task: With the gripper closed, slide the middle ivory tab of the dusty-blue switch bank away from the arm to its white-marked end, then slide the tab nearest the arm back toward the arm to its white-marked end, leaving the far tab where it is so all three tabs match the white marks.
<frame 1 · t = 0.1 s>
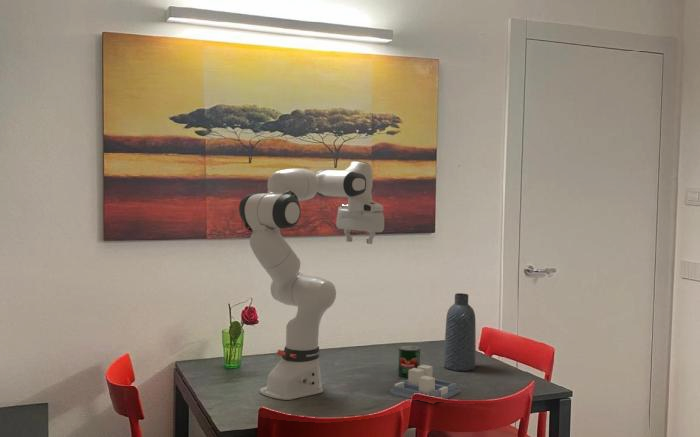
hand: (359, 242, 288), 48 cm above the table, tool pointing down, fingers open, 8 cm apart
middle tab: (416, 378, 267), point 4 cm above the table, slide at 0.0 cm
vase: (459, 367, 298), on the table
switch bank: (425, 393, 264), on the table
canned tomato: (408, 377, 284), on the table
near tab: (426, 386, 257), point 4 cm above the table, slide at 8.0 cm
far tab: (424, 375, 271), point 4 cm above the table, slide at 0.0 cm
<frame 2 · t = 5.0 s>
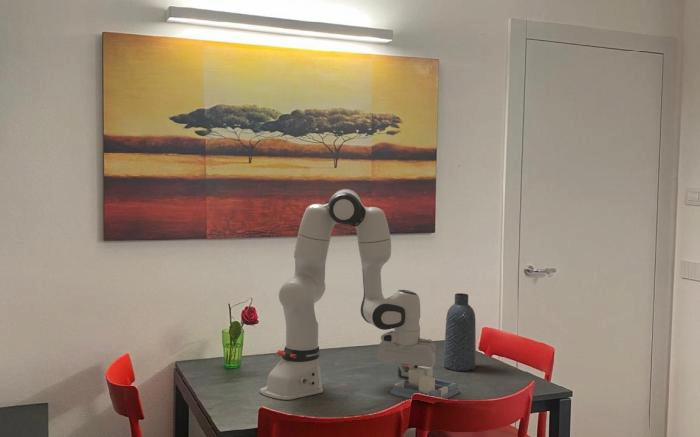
hand: (406, 376, 269), 4 cm above the table, tool pointing down, fingers closed
middle tab: (416, 378, 266), point 4 cm above the table, slide at 0.2 cm, touching gripper
everything else where it was.
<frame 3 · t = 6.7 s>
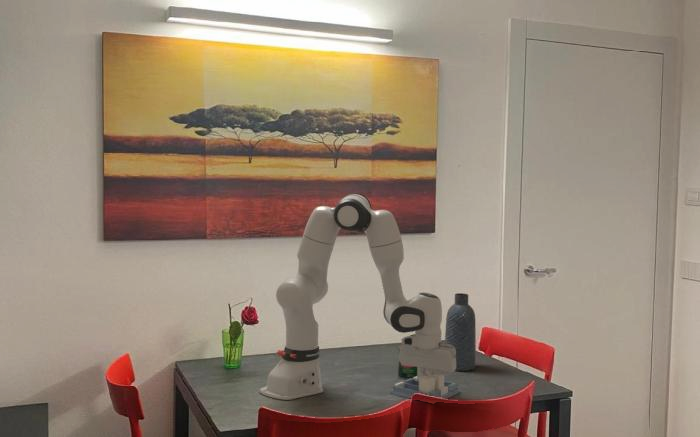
hand: (426, 381, 264), 4 cm above the table, tool pointing down, fingers closed
middle tab: (436, 383, 262), point 4 cm above the table, slide at 8.2 cm, touching gripper
everything else where it was.
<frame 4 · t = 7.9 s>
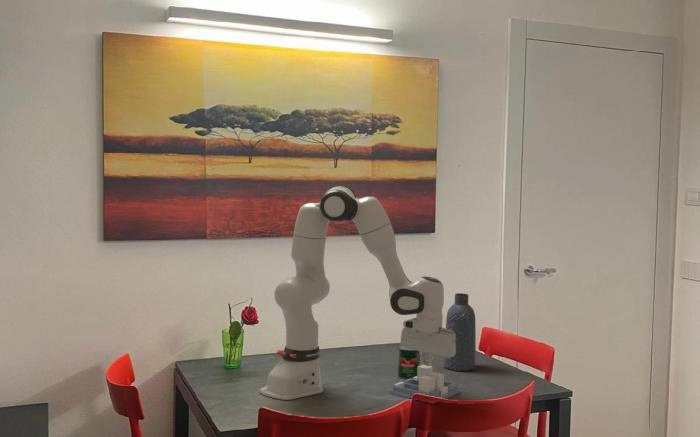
hand: (426, 365, 264), 10 cm above the table, tool pointing down, fingers closed
middle tab: (435, 383, 262), point 4 cm above the table, slide at 8.0 cm
everything else where it was.
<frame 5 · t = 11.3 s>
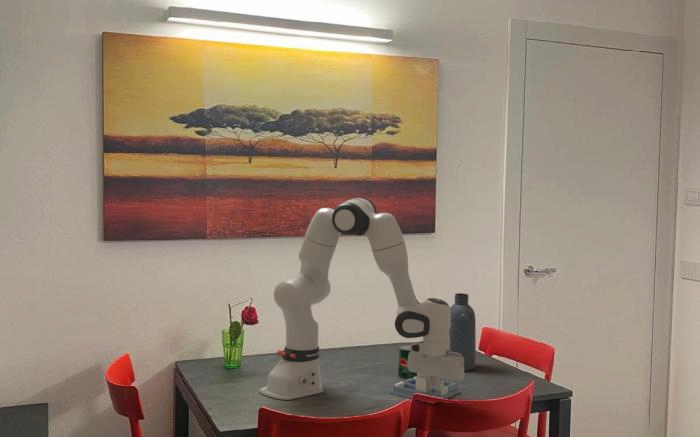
hand: (434, 389, 255), 4 cm above the table, tool pointing down, fingers closed
near tab: (423, 385, 258), point 4 cm above the table, slide at 6.7 cm, touching gripper
everything else where it was.
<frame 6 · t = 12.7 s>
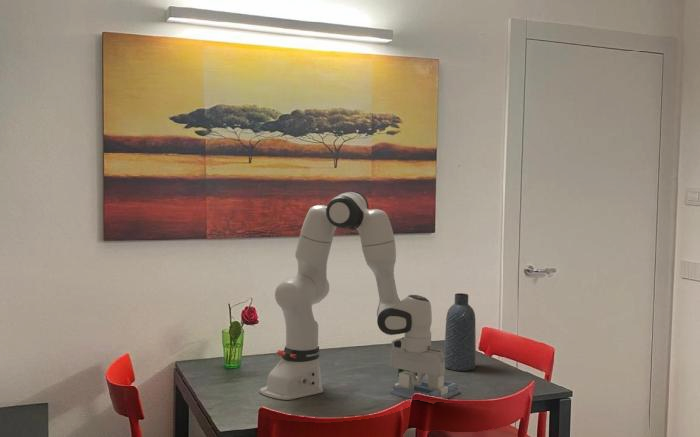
hand: (416, 384, 260), 4 cm above the table, tool pointing down, fingers closed
near tab: (406, 381, 262), point 4 cm above the table, slide at -0.1 cm, touching gripper
everything else where it was.
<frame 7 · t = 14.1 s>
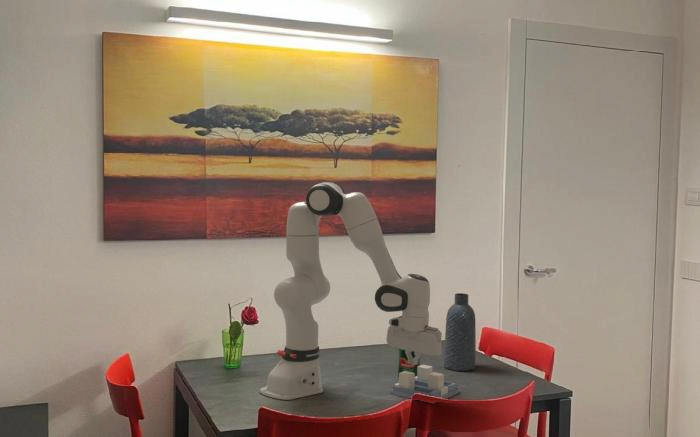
hand: (412, 363, 260), 11 cm above the table, tool pointing down, fingers closed
near tab: (406, 381, 262), point 4 cm above the table, slide at 0.0 cm
everything else where it was.
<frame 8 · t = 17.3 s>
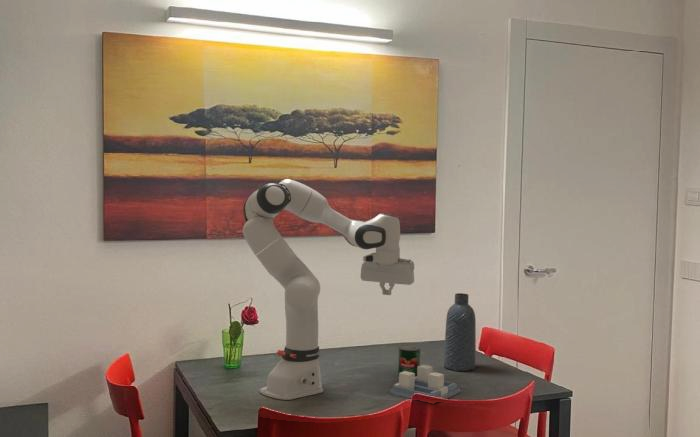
hand: (386, 294, 287), 29 cm above the table, tool pointing down, fingers closed
nothing on the table moved.
at the end: middle tab slide at 8.0 cm; near tab slide at 0.0 cm; far tab slide at 0.0 cm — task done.
